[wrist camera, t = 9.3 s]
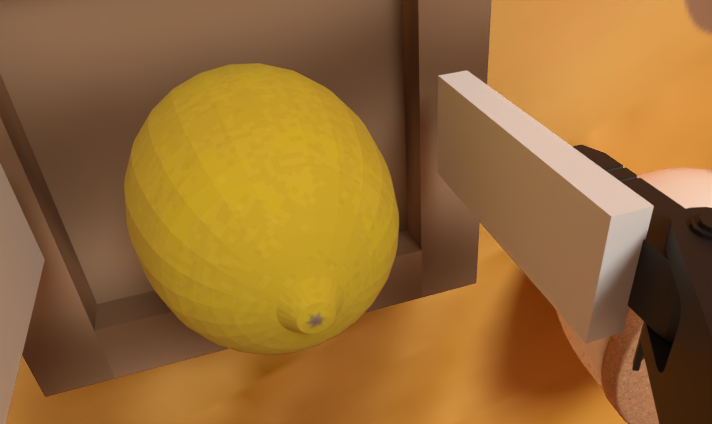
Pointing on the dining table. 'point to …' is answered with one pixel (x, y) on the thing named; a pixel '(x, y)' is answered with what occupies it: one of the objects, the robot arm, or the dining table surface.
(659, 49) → the dining table surface
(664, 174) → the lidded jar
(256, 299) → the lemon
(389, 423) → the dining table surface
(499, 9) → the dining table surface
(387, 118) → the walnut base
